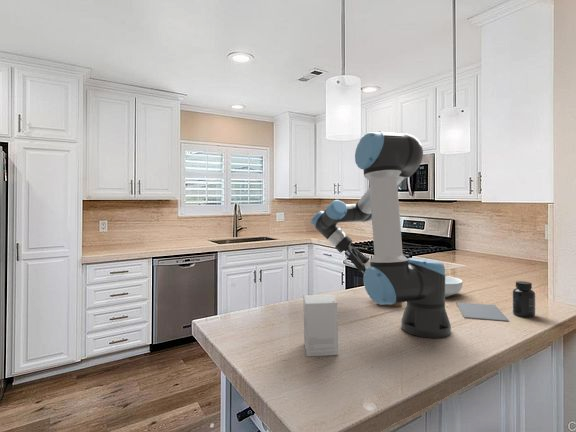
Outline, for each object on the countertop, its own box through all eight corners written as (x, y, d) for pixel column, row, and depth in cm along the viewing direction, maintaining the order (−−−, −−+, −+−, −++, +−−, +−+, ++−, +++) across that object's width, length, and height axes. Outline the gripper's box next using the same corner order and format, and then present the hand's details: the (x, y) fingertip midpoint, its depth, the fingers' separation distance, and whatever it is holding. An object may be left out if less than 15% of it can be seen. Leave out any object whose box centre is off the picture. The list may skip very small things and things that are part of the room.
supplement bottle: (530, 312, 126) (531, 280, 126) (538, 318, 120) (539, 285, 119) (509, 311, 128) (509, 279, 128) (516, 317, 122) (516, 284, 121)
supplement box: (333, 342, 103) (332, 293, 103) (338, 355, 94) (338, 302, 94) (303, 343, 103) (302, 294, 102) (306, 356, 94) (305, 303, 93)
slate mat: (509, 321, 118) (509, 320, 118) (464, 317, 122) (464, 316, 122) (495, 306, 135) (495, 305, 135) (456, 303, 139) (456, 302, 139)
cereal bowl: (451, 302, 141) (451, 285, 141) (414, 294, 154) (414, 278, 153) (469, 294, 152) (469, 278, 151) (433, 287, 165) (433, 273, 164)
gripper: (342, 238, 135) (381, 277, 131) (350, 232, 158) (383, 265, 155) (329, 250, 137) (367, 290, 133) (338, 243, 160) (371, 276, 156)
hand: (376, 276), depth 144 cm, fingers open, 13 cm apart
